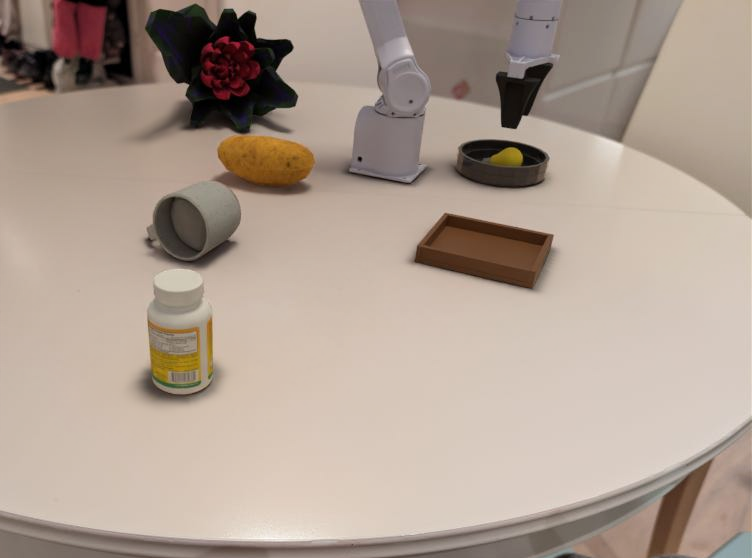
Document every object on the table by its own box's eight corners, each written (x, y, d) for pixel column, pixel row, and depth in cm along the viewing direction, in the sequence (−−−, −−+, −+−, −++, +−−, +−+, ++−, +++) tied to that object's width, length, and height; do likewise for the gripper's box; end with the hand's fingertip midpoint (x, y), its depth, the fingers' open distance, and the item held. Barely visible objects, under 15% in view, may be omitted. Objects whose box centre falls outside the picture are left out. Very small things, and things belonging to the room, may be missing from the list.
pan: (444, 177, 108) (447, 157, 107) (467, 153, 118) (471, 134, 116) (535, 194, 103) (540, 173, 102) (551, 167, 113) (556, 148, 111)
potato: (298, 200, 99) (301, 150, 96) (209, 183, 104) (208, 134, 100) (320, 182, 105) (323, 135, 101) (235, 166, 110) (234, 120, 106)
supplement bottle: (182, 404, 61) (176, 303, 56) (138, 379, 64) (129, 280, 59) (226, 376, 65) (225, 278, 59) (183, 354, 68) (178, 258, 62)
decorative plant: (261, 156, 143) (279, 166, 114) (133, 98, 137) (119, 94, 109) (305, 50, 137) (336, 33, 109) (174, -15, 132) (170, -50, 103)
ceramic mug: (246, 241, 88) (245, 178, 84) (209, 268, 82) (206, 201, 78) (172, 224, 92) (167, 163, 88) (132, 248, 86) (125, 184, 82)
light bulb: (522, 175, 108) (519, 154, 106) (481, 180, 111) (477, 159, 109) (525, 161, 110) (522, 141, 108) (484, 166, 113) (480, 146, 111)
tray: (414, 261, 85) (416, 245, 84) (442, 227, 93) (444, 212, 92) (531, 288, 80) (535, 272, 79) (550, 250, 88) (554, 234, 87)
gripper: (557, 28, 91) (533, 138, 99) (576, 12, 102) (553, 113, 110) (500, 22, 94) (481, 130, 101) (524, 8, 105) (505, 106, 112)
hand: (515, 121), depth 106 cm, fingers open, 7 cm apart
